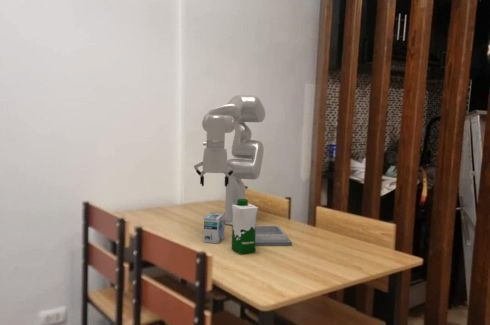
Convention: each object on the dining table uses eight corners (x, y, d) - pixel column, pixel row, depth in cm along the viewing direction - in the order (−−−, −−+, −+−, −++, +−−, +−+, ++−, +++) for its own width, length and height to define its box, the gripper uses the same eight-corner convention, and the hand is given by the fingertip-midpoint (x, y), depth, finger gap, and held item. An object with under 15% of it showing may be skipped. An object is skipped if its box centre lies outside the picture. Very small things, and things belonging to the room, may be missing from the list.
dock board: (240, 233, 195) (240, 230, 195) (281, 233, 198) (281, 229, 198) (246, 246, 176) (246, 242, 176) (291, 245, 179) (292, 242, 179)
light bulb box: (218, 244, 178) (219, 218, 177) (202, 242, 180) (203, 217, 178) (224, 237, 189) (225, 212, 187) (209, 235, 190) (210, 211, 189)
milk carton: (247, 246, 177) (249, 197, 174) (258, 252, 169) (260, 202, 166) (228, 248, 173) (230, 199, 170) (238, 255, 165) (240, 203, 162)
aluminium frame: (245, 231, 193) (245, 225, 193) (278, 231, 196) (279, 225, 195) (250, 241, 178) (250, 235, 178) (286, 241, 180) (287, 235, 180)
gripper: (194, 145, 175) (193, 187, 176) (237, 146, 177) (235, 187, 179) (194, 144, 182) (193, 184, 184) (235, 145, 184) (233, 185, 186)
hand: (214, 186), depth 181 cm, fingers open, 9 cm apart
